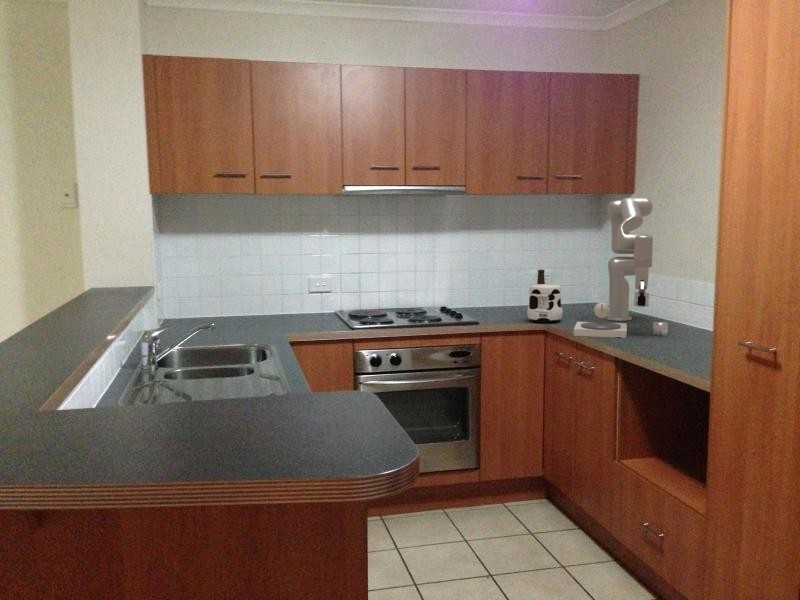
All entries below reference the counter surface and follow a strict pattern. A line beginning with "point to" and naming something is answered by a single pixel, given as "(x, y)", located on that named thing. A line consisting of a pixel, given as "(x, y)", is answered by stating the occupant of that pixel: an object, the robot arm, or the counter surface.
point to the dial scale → (601, 325)
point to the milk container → (544, 303)
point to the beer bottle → (541, 277)
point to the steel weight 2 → (660, 328)
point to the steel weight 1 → (637, 299)
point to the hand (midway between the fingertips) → (641, 303)
